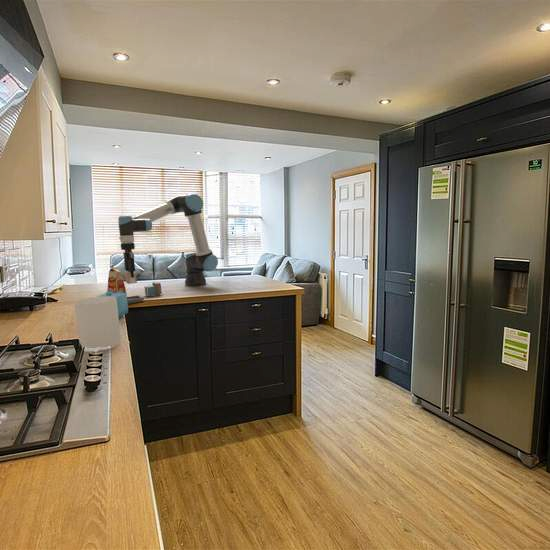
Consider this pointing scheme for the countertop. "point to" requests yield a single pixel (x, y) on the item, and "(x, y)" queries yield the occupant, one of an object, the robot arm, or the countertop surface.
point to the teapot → (119, 302)
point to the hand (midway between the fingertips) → (131, 282)
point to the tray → (134, 299)
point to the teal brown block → (153, 289)
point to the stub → (129, 278)
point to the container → (98, 322)
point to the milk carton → (115, 281)
